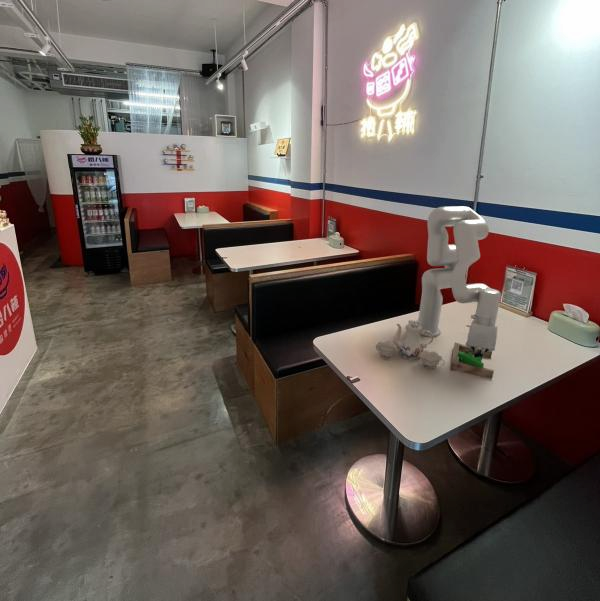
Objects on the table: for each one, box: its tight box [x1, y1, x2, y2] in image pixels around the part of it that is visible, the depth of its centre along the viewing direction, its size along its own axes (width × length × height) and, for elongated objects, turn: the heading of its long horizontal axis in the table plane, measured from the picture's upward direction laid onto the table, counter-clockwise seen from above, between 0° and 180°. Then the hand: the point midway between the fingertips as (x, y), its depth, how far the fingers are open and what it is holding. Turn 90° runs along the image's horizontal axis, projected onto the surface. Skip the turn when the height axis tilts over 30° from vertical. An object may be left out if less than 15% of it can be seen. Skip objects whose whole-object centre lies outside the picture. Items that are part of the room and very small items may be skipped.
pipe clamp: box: [458, 351, 485, 368], centre depth 149 cm, size 11×4×5 cm, turn 27°
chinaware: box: [375, 320, 445, 370], centre depth 152 cm, size 28×17×17 cm, turn 70°
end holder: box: [450, 342, 495, 379], centre depth 152 cm, size 15×20×3 cm
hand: (477, 360), depth 151 cm, fingers closed
